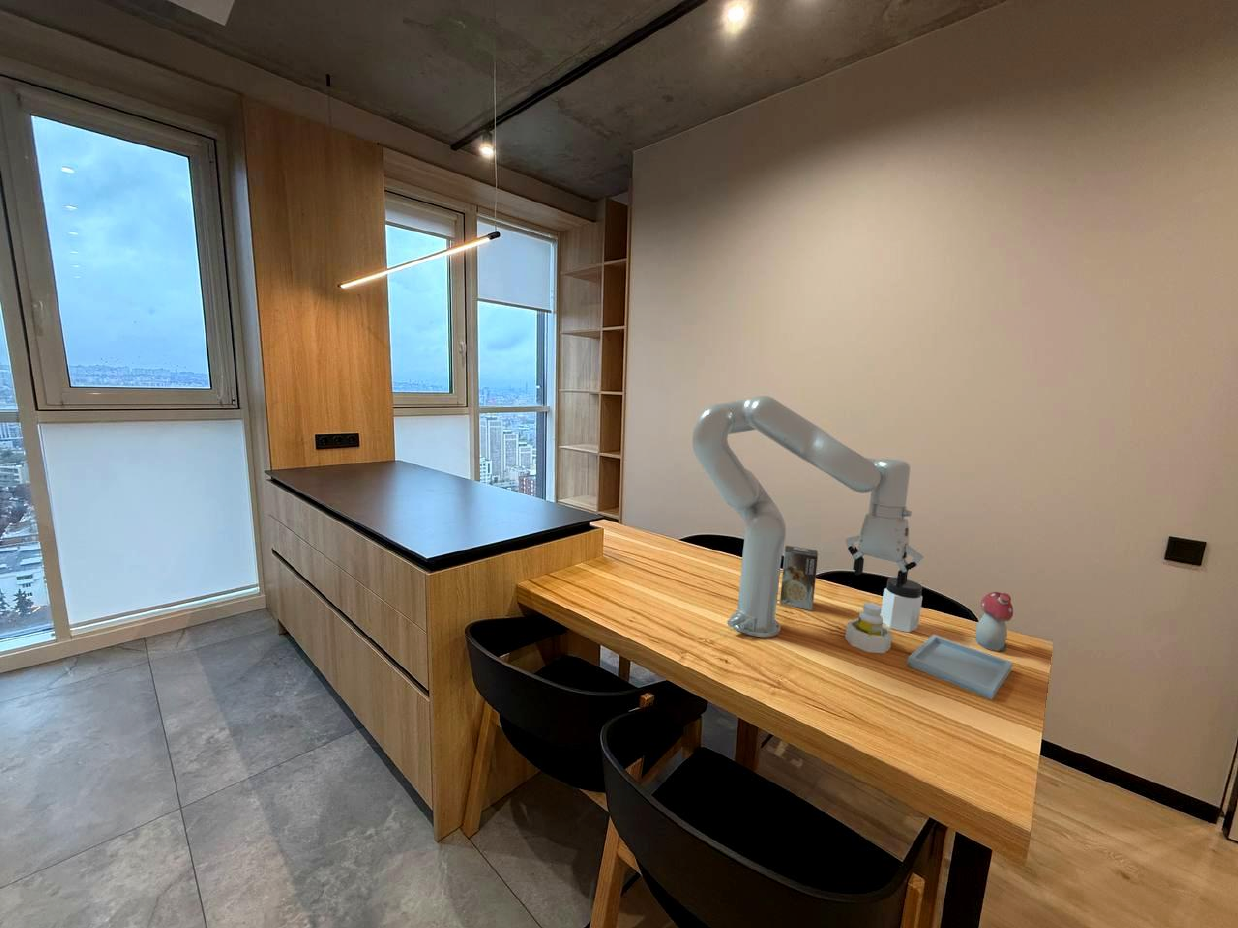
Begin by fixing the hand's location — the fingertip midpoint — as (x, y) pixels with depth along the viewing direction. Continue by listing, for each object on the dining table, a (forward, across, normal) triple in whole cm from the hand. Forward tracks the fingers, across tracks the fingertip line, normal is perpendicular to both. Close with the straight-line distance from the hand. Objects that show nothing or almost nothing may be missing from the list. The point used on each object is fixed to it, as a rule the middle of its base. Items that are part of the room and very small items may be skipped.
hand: (878, 580), depth 120 cm
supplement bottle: (+17, +1, 0) cm, 17 cm away
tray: (+17, -17, -6) cm, 25 cm away
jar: (+17, 0, -18) cm, 24 cm away
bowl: (+16, +1, 0) cm, 17 cm away
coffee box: (+16, +24, -6) cm, 30 cm away
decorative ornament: (+17, -19, -26) cm, 36 cm away
